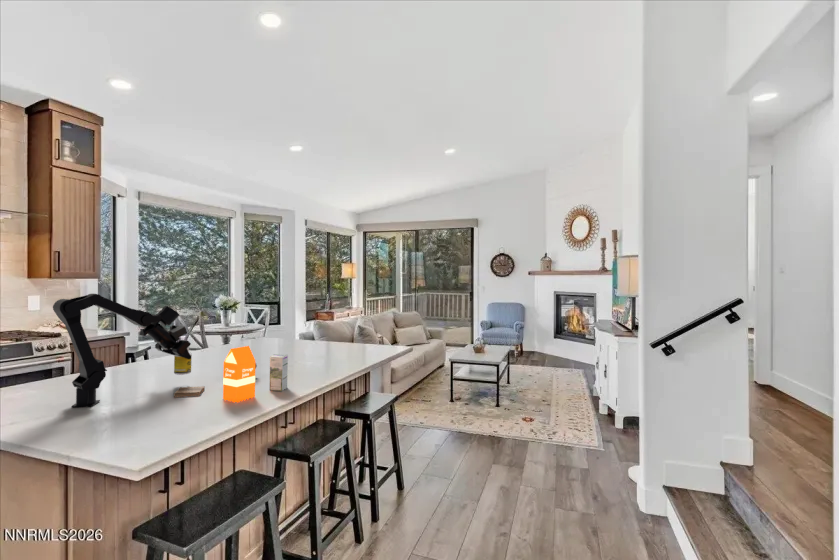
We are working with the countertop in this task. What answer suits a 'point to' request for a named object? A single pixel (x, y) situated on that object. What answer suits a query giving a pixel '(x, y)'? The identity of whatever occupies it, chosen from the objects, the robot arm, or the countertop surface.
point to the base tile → (189, 391)
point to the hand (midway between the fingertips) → (186, 357)
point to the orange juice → (239, 375)
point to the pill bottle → (182, 365)
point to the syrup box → (278, 372)
